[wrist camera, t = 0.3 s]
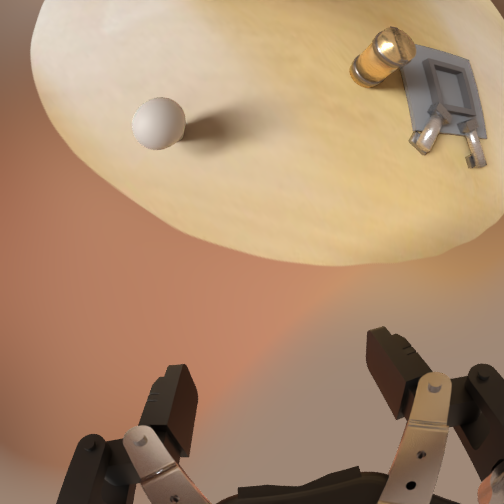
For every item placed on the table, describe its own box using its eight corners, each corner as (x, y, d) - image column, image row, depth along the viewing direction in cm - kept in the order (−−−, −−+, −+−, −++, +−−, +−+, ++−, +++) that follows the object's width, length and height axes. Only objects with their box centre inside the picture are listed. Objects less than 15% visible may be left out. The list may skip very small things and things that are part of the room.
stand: (391, 42, 31) (399, 35, 28) (465, 61, 30) (474, 57, 27) (412, 130, 34) (423, 128, 32) (483, 139, 34) (493, 138, 31)
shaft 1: (426, 106, 33) (439, 102, 30) (439, 119, 34) (452, 116, 30) (408, 141, 35) (420, 138, 31) (422, 154, 35) (435, 153, 32)
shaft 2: (453, 124, 34) (466, 122, 30) (463, 120, 33) (476, 117, 30) (468, 168, 35) (482, 168, 32) (478, 162, 35) (491, 162, 32)
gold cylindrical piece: (345, 59, 32) (375, 23, 20) (374, 61, 32) (410, 30, 20) (352, 88, 33) (386, 58, 22) (381, 89, 33) (422, 64, 21)
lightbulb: (148, 142, 35) (113, 130, 25) (172, 106, 34) (144, 82, 23) (182, 163, 36) (155, 157, 25) (207, 126, 35) (189, 106, 24)
